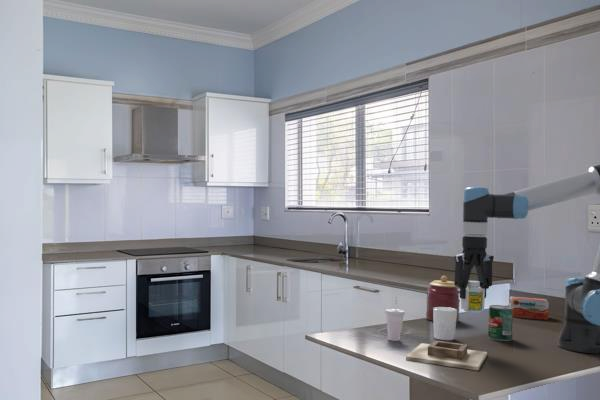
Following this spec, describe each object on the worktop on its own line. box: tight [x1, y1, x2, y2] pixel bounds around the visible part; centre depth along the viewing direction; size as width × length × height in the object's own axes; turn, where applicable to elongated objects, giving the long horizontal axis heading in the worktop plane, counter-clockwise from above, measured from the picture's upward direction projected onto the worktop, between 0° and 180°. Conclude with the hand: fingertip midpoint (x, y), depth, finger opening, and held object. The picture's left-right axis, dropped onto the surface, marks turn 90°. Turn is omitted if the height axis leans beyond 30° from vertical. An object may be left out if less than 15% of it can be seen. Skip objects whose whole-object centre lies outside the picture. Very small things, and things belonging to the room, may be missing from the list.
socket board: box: [405, 339, 488, 371], centre depth 177 cm, size 20×20×4 cm
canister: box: [425, 275, 461, 323], centre depth 239 cm, size 13×13×18 cm
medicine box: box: [508, 296, 550, 321], centre depth 257 cm, size 15×8×8 cm, turn 76°
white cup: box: [432, 307, 457, 341], centre depth 204 cm, size 8×8×10 cm
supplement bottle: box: [463, 280, 482, 314], centre depth 191 cm, size 5×5×10 cm
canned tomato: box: [487, 304, 514, 342], centre depth 208 cm, size 8×8×11 cm
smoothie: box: [384, 296, 406, 342], centre depth 198 cm, size 6×6×14 cm
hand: (472, 308), depth 191 cm, fingers closed on supplement bottle, 5 cm apart
